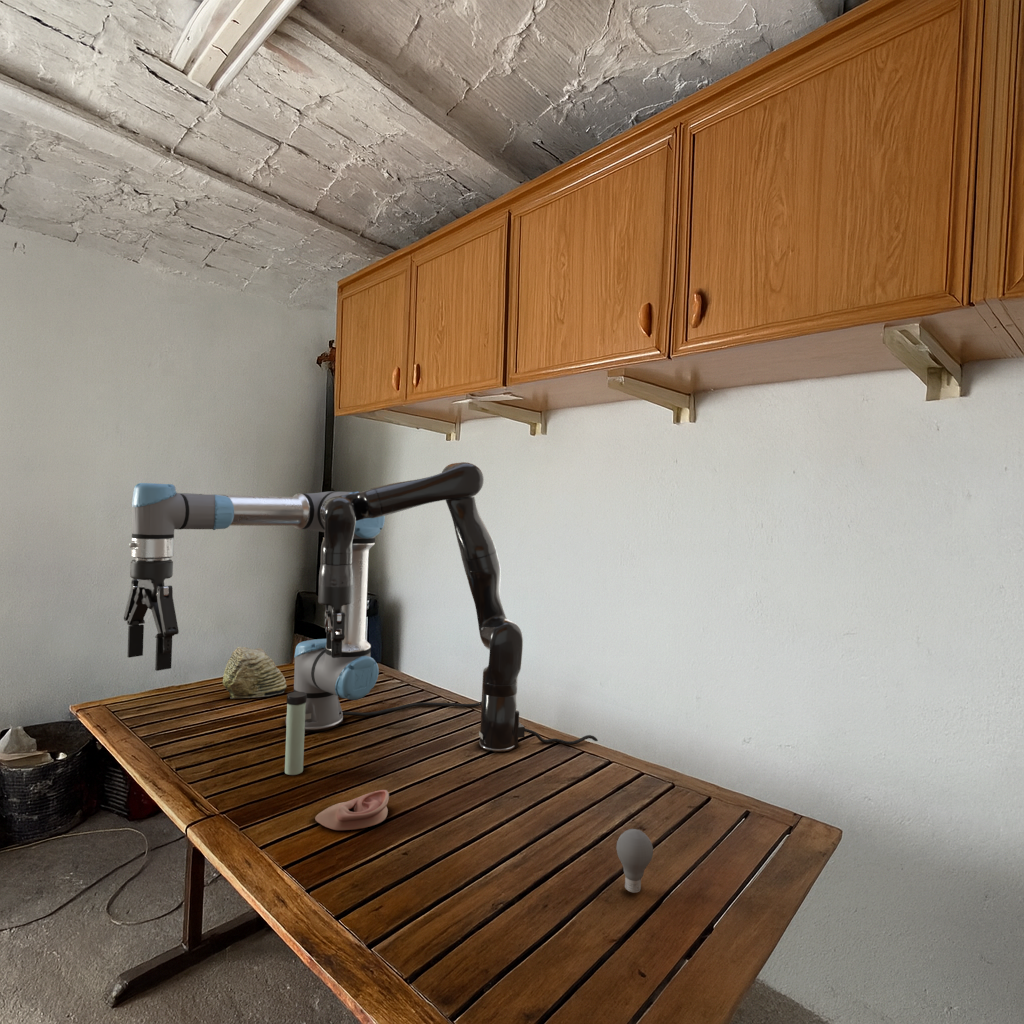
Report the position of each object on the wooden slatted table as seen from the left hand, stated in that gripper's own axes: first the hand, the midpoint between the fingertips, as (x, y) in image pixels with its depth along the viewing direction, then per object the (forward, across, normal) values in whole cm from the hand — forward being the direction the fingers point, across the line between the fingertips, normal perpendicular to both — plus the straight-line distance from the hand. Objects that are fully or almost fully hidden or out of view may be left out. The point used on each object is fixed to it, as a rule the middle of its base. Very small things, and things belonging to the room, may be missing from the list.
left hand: (148, 662), depth 129 cm
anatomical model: (+28, +37, +24) cm, 52 cm away
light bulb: (+28, +90, +41) cm, 103 cm away
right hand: (+1, +15, +34) cm, 37 cm away
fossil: (+28, -47, +50) cm, 74 cm away
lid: (+11, +10, +28) cm, 32 cm away
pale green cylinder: (+28, +10, +28) cm, 41 cm away
